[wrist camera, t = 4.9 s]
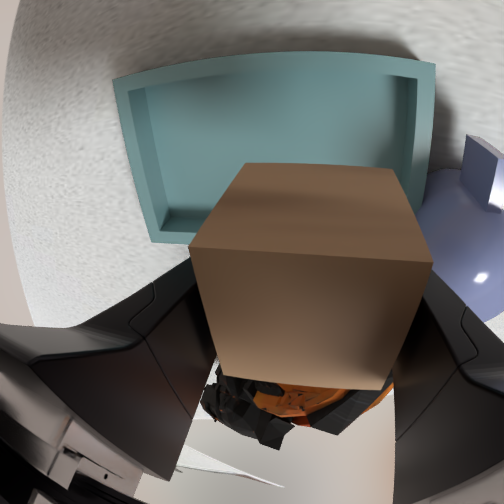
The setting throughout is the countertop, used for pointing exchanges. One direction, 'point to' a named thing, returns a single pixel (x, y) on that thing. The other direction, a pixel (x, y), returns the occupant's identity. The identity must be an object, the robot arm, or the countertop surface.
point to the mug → (468, 227)
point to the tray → (269, 125)
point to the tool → (285, 406)
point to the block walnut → (311, 274)
